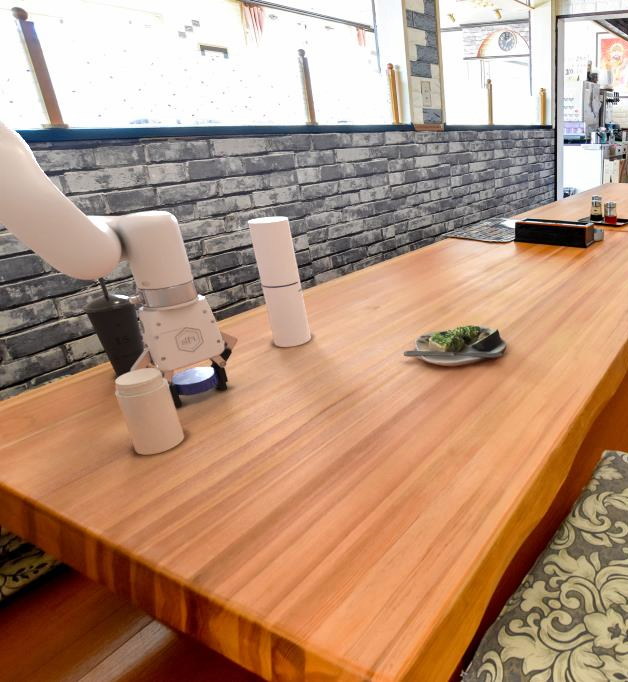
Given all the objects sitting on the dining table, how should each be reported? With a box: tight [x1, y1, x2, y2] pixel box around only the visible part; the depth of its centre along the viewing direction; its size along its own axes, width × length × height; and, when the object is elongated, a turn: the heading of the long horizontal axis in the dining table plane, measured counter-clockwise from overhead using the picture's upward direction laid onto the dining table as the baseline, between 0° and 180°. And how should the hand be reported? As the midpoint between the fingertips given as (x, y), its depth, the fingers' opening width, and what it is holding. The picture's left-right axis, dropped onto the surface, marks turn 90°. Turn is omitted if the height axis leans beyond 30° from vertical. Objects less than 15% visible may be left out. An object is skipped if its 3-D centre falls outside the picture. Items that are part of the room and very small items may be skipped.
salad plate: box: [403, 324, 507, 368], centre depth 101 cm, size 19×18×5 cm
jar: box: [114, 367, 185, 456], centre depth 74 cm, size 6×6×11 cm
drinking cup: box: [81, 277, 149, 378], centre depth 94 cm, size 8×8×20 cm
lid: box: [172, 366, 219, 396], centre depth 88 cm, size 7×7×2 cm
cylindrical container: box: [247, 216, 312, 348], centre depth 106 cm, size 7×7×25 cm
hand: (199, 395), depth 89 cm, fingers closed on lid, 6 cm apart
